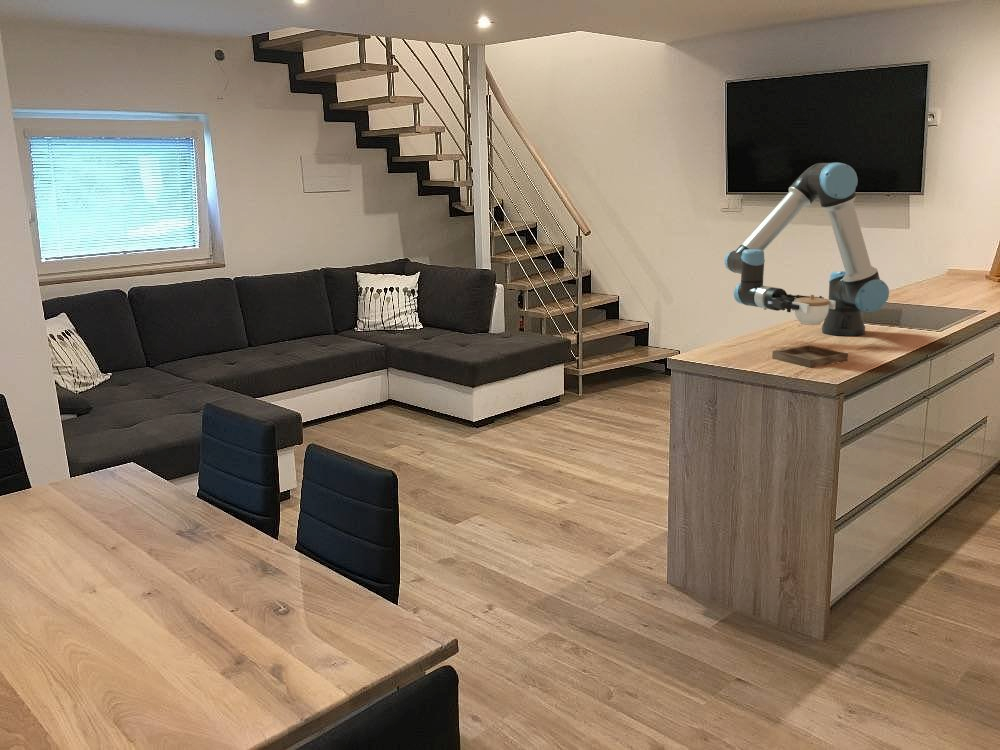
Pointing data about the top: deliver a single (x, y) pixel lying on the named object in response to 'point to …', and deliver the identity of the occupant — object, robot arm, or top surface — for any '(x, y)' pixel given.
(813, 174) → the robot arm
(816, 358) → the tray
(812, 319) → the lidded jar
